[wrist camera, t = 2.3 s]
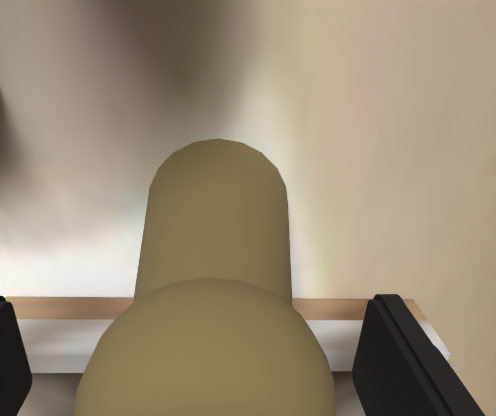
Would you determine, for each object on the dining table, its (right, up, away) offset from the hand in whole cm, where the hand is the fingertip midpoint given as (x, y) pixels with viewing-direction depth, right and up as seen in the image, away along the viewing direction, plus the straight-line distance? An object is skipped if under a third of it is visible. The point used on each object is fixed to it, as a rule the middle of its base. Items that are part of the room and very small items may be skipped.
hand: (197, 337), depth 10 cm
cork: (0, +4, +6) cm, 7 cm away
